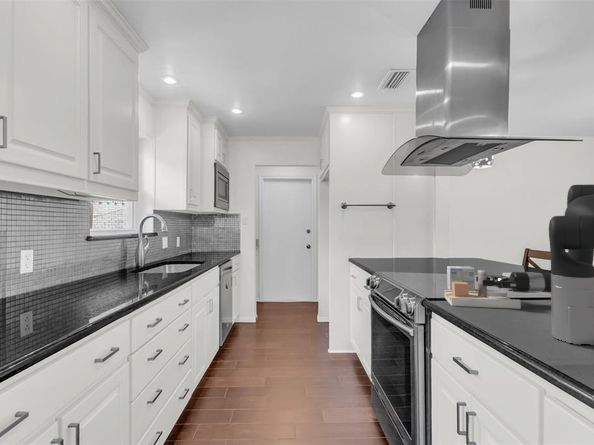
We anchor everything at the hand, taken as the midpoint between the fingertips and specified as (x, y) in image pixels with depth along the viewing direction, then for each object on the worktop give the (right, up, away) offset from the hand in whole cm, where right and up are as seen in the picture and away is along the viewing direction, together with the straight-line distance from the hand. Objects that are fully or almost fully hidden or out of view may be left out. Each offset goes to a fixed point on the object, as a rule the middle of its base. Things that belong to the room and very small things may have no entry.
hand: (479, 280), depth 128 cm
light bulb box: (+5, -9, +24) cm, 26 cm away
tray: (0, -8, 0) cm, 8 cm away
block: (-7, -6, +2) cm, 9 cm away
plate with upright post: (-4, -7, +1) cm, 8 cm away
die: (+27, -8, +22) cm, 36 cm away
